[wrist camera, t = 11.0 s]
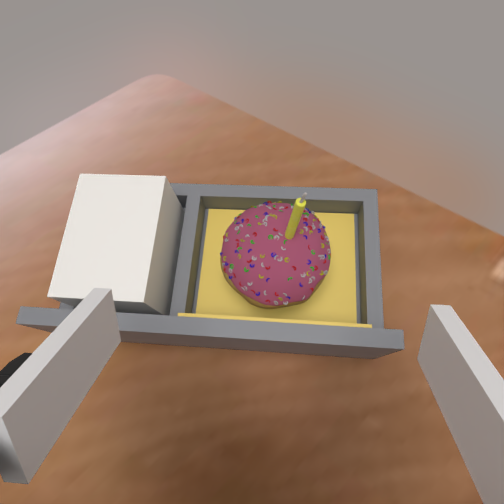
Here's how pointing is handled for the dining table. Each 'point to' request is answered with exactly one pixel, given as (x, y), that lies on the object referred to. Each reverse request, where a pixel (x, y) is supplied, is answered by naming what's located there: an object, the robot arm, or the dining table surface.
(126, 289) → the blank block
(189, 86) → the dining table surface
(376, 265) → the tray
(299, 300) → the cupcake
